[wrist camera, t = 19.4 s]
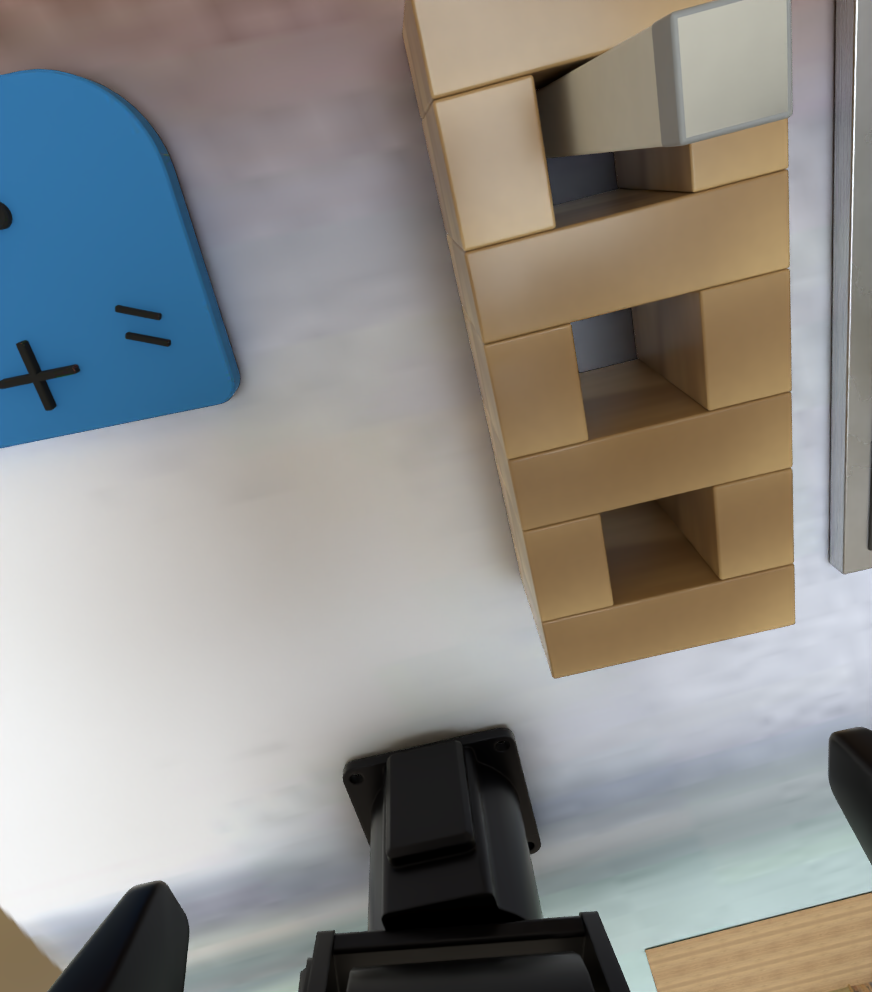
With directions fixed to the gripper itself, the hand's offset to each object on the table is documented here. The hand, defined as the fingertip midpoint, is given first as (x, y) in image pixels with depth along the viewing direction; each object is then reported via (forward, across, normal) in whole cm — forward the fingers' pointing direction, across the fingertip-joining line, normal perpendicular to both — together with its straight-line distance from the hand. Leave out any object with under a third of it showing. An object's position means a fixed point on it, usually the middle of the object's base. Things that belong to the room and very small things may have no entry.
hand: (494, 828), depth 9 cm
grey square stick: (+13, -5, -8) cm, 16 cm away
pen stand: (+13, -5, -3) cm, 14 cm away
